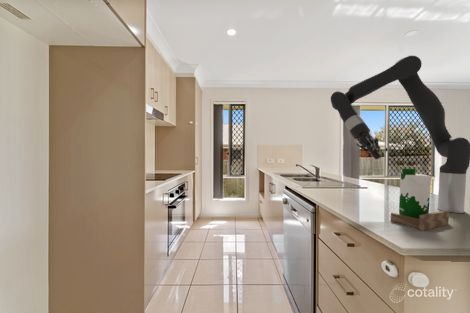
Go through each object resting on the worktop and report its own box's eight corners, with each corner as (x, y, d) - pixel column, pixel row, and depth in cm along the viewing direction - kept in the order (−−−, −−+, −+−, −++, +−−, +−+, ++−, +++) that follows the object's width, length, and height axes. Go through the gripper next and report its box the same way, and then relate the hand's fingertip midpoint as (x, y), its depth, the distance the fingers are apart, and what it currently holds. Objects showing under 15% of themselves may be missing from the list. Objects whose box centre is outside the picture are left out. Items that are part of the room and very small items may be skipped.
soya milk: (395, 217, 102) (397, 167, 101) (421, 219, 99) (424, 168, 98) (403, 223, 93) (406, 169, 92) (432, 225, 91) (435, 170, 90)
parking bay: (413, 216, 104) (414, 204, 104) (448, 224, 94) (449, 210, 93) (387, 221, 95) (388, 208, 95) (422, 230, 85) (423, 216, 85)
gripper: (353, 122, 112) (376, 155, 104) (371, 121, 118) (394, 151, 110) (341, 133, 117) (362, 164, 110) (360, 130, 123) (381, 160, 116)
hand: (378, 158), depth 110 cm, fingers closed
